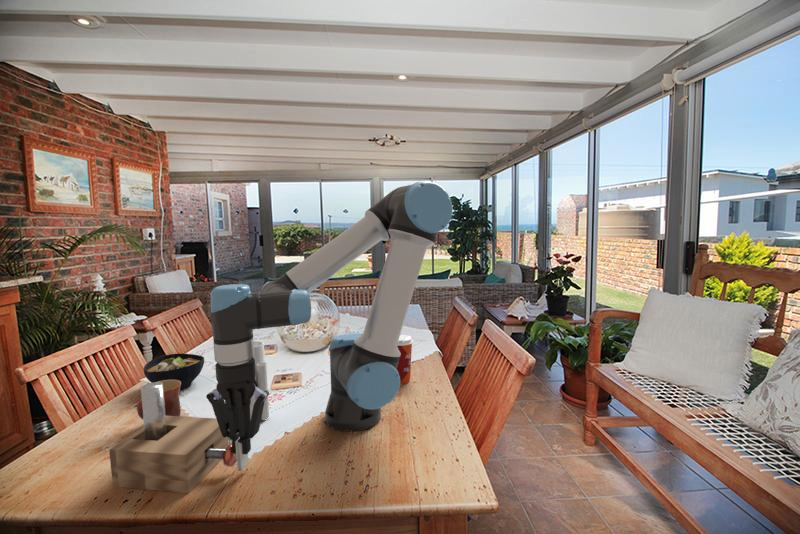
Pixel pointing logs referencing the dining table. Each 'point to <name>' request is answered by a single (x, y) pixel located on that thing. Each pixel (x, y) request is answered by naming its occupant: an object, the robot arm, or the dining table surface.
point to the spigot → (153, 411)
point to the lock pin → (222, 455)
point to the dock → (167, 456)
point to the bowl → (174, 368)
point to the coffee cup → (404, 358)
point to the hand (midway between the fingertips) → (243, 467)
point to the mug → (167, 398)
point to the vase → (260, 376)
